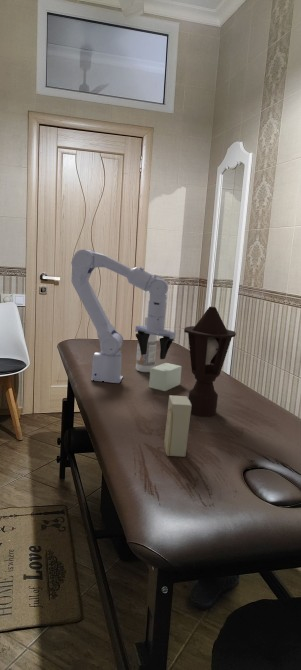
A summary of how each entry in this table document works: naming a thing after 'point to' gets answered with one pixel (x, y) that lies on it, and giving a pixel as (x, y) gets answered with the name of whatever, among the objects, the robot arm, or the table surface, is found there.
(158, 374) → the mint green block
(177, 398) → the skincare box
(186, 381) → the table surface
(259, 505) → the table surface
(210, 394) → the lantern
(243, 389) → the table surface
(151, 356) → the bath foam
